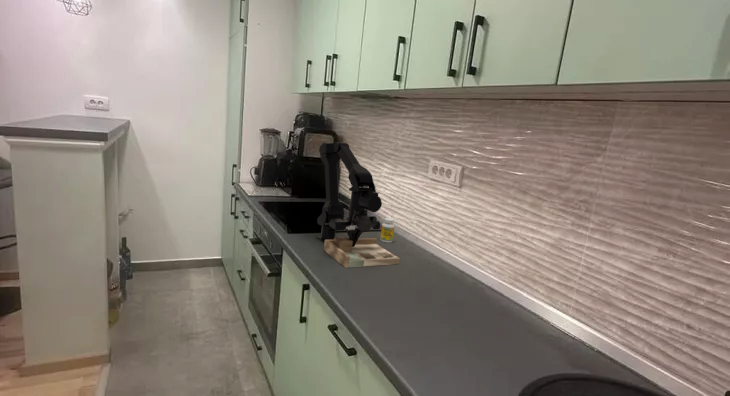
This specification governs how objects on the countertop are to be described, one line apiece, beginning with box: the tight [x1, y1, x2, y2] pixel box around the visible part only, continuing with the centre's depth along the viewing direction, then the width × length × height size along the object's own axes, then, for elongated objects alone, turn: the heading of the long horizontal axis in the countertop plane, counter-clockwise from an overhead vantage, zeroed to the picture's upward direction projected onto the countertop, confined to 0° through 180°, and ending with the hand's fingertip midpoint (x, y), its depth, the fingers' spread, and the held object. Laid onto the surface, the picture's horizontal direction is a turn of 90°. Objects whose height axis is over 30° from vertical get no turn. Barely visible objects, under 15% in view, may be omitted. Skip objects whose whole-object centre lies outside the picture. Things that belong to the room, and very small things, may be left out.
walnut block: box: [334, 236, 353, 252], centre depth 147 cm, size 5×5×4 cm
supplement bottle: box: [379, 217, 395, 243], centre depth 173 cm, size 5×5×10 cm
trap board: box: [323, 237, 401, 269], centre depth 148 cm, size 18×22×4 cm
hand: (352, 246), depth 149 cm, fingers closed
